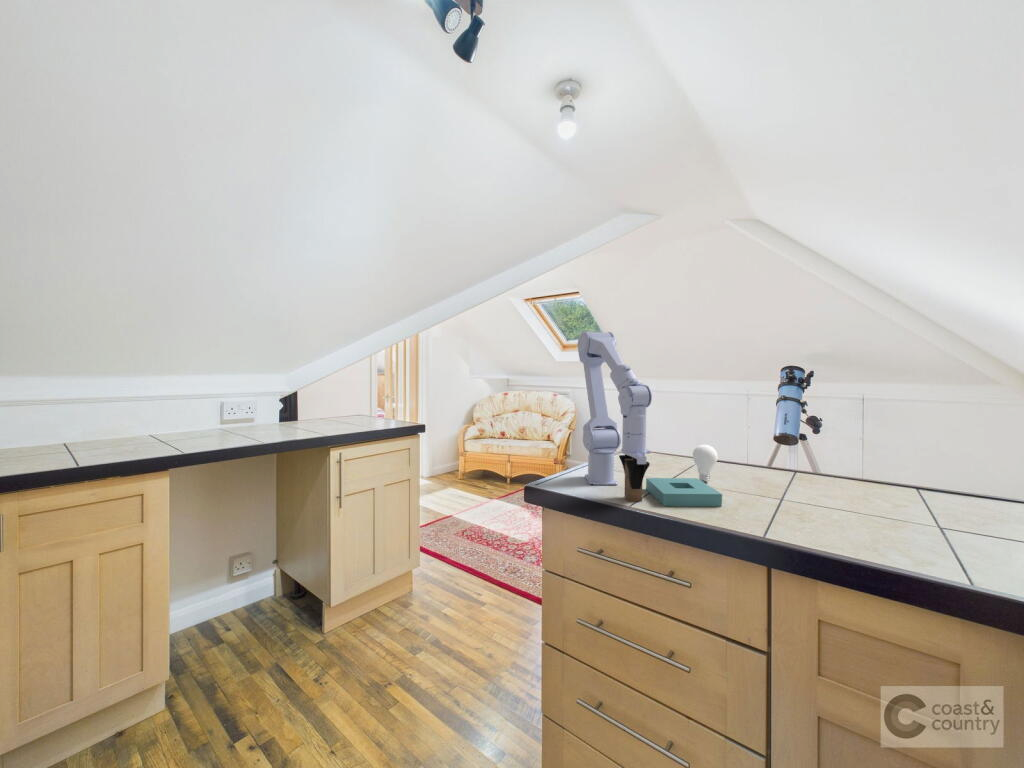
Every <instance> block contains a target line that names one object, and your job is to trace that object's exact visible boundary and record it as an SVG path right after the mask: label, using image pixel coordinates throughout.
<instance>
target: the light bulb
mask: <svg viewBox="0 0 1024 768" xmlns="http://www.w3.org/2000/svg"><path fill="white" fill-rule="evenodd" d="M718 457H719V456H718V452H717V451H716V449H715V448H714V447H713V446H712V445H709V444H699V445H697V446H696V447H695V448H694V449H693V451H692V460H693V462H694V463H695V465H696V467H697V472H698V474H699V475H698V479H699V480H701V481H702V482H704V483H707V482H709V481H710V479H711V474H712V469H713V467H714V466H715V465H716V463H717V461H718Z"/></svg>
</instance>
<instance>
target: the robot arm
mask: <svg viewBox="0 0 1024 768" xmlns="http://www.w3.org/2000/svg"><path fill="white" fill-rule="evenodd" d="M577 352H578V357H579V358H578V359H579V362H581V363H582V364H583V372H584V378H585V379H584V380H585V386H586V393H587V400H588V408H589V415H590V416H589V417H590V419H589V420H588V421H586V423H585V424H584V425H583V426H582V433H583V434H582V443H583V446H584V448H585V449H586V451H588V456H587V457H588V458H587V460H588V461H587V466H588V467H587V473H586V474H584V477H585V479H586V480H587V483H589V485H591V484H593V485H598V486H599V485H601V486H602V485H606V486H607V485H608V486H609V485H610V486H611V485H613V486H615V485H617V486H618V482H617V480H616V479H615V452H616V453H617V449H619V447H620V446H622V447H621V449H620V450H621V453H622V454H620V455H618V457H619V460H620V462H621V464H622V467H623V473H624V474H625V463H626V465H627V468H628V471H629V476H630V484H631V488H632V489H641V485H642V486H643V482H644V481H643V480H644V477H645V474H646V472H647V470H648V468H649V467H650V462H649V461H647V454H648V455H649V454H651V450H650V449H647V446H646V445H647V408H649V407H650V406H651V404H652V396H653V395H652V391H651V389H650V386H649V385H647V384H643V382H640V381H639V380H638V378H637V376H636V375H635V373H634V372H633V370H632V368H631V366H630V365H628V364H625V363H623V361H622V358H621V356H620V354H619V353H618V350H617V338H616V336H615V334H614V333H613V332H611V331H609V332H608V331H607V332H603V331H602V332H599V331H598V332H597V331H595V332H594V331H593V332H592V331H582V332H581V333H580V335H579V336H578V340H577ZM604 363H605V364H606V365H607V366H608V367H609V369H610V375H609V377H610V379H611V381H612V382H613V384H614V387H615V388H616V390H617V391H618V396H617V399H618V404H619V407H620V414H621V415H622V433H621V432H620V431H619V428H618V423H617V422H616V421H615V420H613V419H612V418H611V417H610V416H609V413H608V406H607V399H606V392H605V385H604V379H603V371H602V365H603V364H604ZM621 434H622V436H621ZM621 444H622V445H621ZM625 459H633V460H625Z"/></svg>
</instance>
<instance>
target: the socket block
mask: <svg viewBox="0 0 1024 768" xmlns="http://www.w3.org/2000/svg"><path fill="white" fill-rule="evenodd" d="M645 479H646V480H645V484H646V485H645V486H646V487H645V489H646V490H647V491H648V493H650V494H651V496H653V497H654V498H655V499H656V501H658V502H659V503H660V504H661V505H662V506H664V507H722V506H723V503H722V502H723V493H721V492H719V491H717V490H716V489H715V488H714V487H712V486H710V485H709V484H707V483H706V482H702V481H701V480H699V477H697V478H696V477H692V478H689V477H688V478H687V477H686V478H684V477H683V478H682V477H681V478H680V477H678V478H677V477H675V478H674V477H672V478H671V477H646V478H645Z"/></svg>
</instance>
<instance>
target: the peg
mask: <svg viewBox="0 0 1024 768" xmlns="http://www.w3.org/2000/svg"><path fill="white" fill-rule="evenodd" d="M625 460H633V459H625ZM623 497H624V498H625V499H627V500H628V501H627V500H626V501H627V502H638V501H642V502H643V484H642V485H641V489H632V488H631V484H630V476H629V471H628V468H627V465H626V463H625V473H624V495H623Z"/></svg>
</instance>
